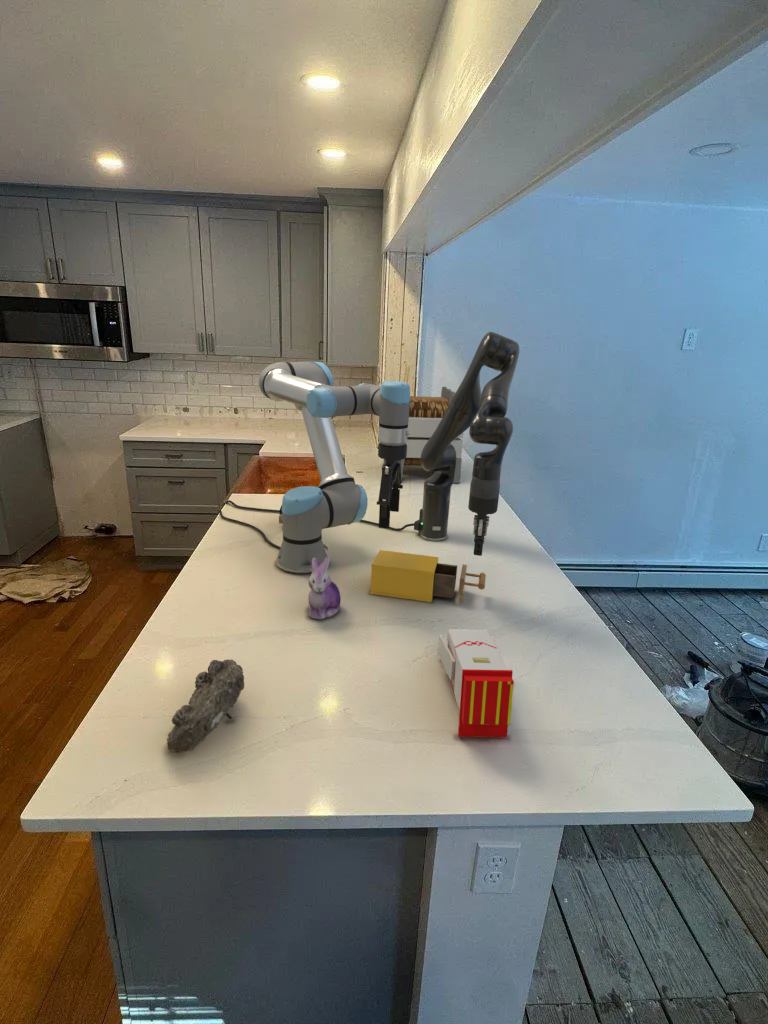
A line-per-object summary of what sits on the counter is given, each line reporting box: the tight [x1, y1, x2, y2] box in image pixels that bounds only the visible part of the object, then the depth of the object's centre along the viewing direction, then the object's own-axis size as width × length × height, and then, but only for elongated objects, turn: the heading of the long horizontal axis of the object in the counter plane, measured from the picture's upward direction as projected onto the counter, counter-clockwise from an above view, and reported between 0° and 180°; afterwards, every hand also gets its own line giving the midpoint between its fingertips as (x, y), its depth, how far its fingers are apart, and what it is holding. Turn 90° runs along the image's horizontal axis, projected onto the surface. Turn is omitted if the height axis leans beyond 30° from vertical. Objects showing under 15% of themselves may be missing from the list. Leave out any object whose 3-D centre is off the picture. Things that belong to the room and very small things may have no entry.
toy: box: [437, 628, 515, 738], centre depth 117 cm, size 12×13×30 cm
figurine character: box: [278, 505, 283, 525], centre depth 204 cm, size 7×8×15 cm
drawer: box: [432, 562, 487, 603], centre depth 157 cm, size 21×9×7 cm, turn 78°
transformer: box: [383, 386, 464, 484], centre depth 268 cm, size 34×33×41 cm
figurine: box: [307, 555, 342, 620], centre depth 144 cm, size 9×10×15 cm
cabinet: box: [370, 549, 440, 603], centre depth 159 cm, size 17×10×9 cm, turn 78°
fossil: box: [166, 658, 245, 754], centre depth 106 cm, size 22×10×15 cm
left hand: (389, 519), depth 154 cm, fingers open, 13 cm apart
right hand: (477, 554), depth 152 cm, fingers closed
